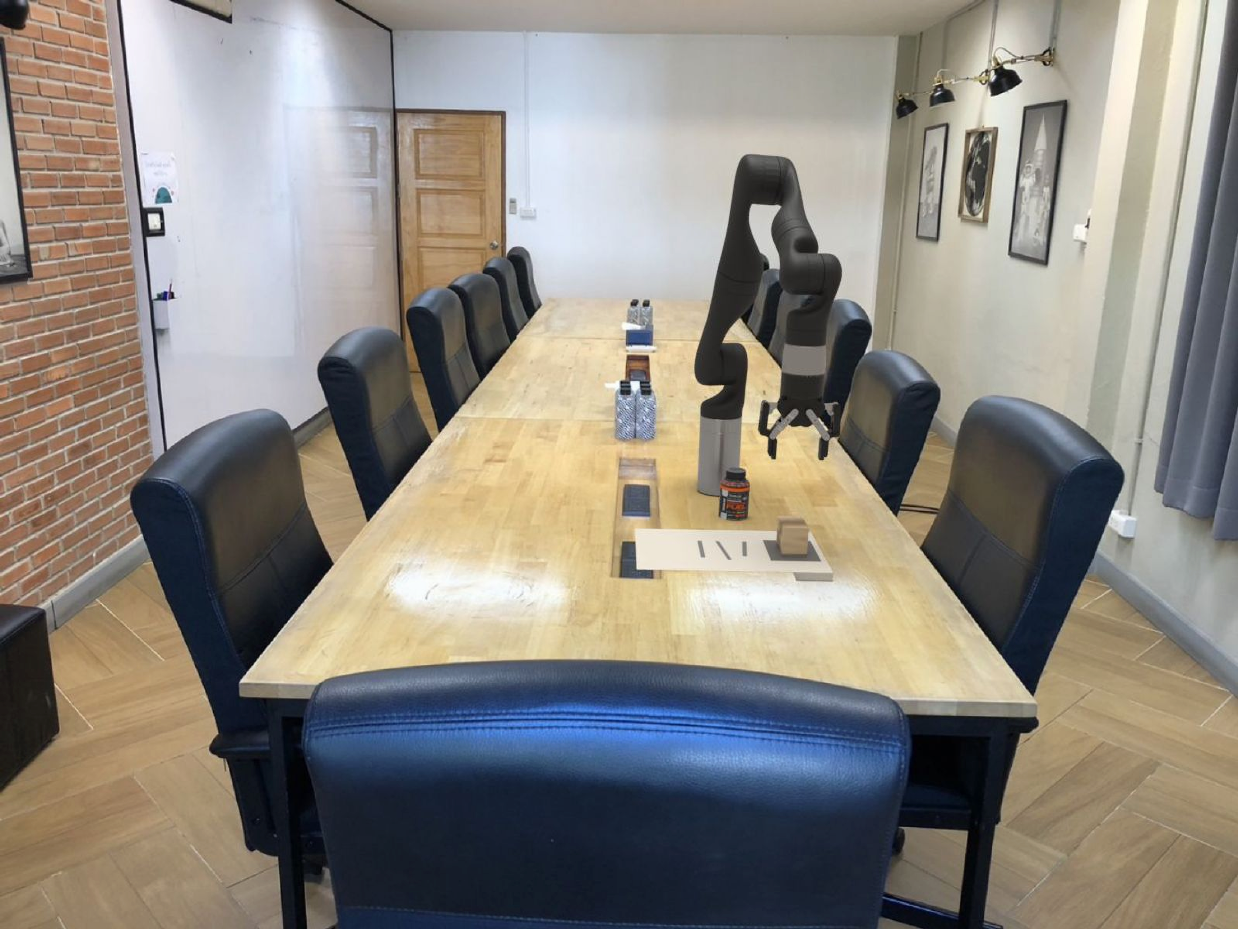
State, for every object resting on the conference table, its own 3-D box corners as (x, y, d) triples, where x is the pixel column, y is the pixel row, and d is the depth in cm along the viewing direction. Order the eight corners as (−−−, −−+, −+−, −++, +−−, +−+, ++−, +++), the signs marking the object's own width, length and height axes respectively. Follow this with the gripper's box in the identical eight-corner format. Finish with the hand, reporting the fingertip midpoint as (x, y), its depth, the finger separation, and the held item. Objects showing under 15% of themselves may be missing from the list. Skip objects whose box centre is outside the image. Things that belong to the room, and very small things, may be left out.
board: (634, 535, 198) (635, 528, 197) (809, 539, 198) (810, 531, 197) (636, 577, 176) (636, 569, 176) (832, 581, 177) (833, 572, 176)
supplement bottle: (724, 528, 203) (727, 474, 200) (713, 519, 208) (716, 466, 205) (752, 526, 204) (755, 472, 202) (741, 517, 210) (743, 464, 207)
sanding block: (776, 543, 190) (777, 515, 189) (800, 544, 190) (802, 516, 189) (781, 556, 183) (783, 527, 182) (806, 557, 183) (808, 528, 182)
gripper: (839, 366, 181) (832, 454, 186) (759, 364, 181) (754, 452, 186) (848, 374, 174) (840, 465, 179) (765, 372, 174) (759, 463, 179)
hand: (796, 458), depth 182 cm, fingers open, 8 cm apart
